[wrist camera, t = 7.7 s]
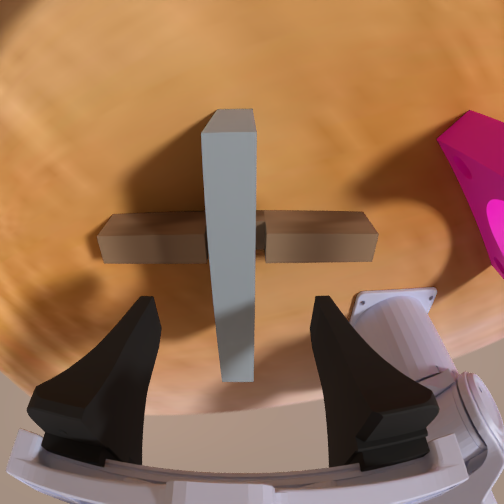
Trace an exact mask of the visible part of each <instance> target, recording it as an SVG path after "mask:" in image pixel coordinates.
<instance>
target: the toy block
mask: <svg viewBox="0 0 504 504" xmlns="http://www.w3.org/2000/svg"><path fill="white" fill-rule="evenodd" d="M437 141H438V143H439V145H440V147H441V148H442V150H443V152H444V154H445V156H446V158H447V160H448V161H449V163H450V165H451V167H452V169H453V171H454V173H455V175H456V177H457V179H458V182H459V184H460V186H461V188H462V190H463V192H464V194H465V197H466V199H467V201H468V203H469V206H470V208H471V210H472V213H473V215H474V218H475V220H476V223H477V225H478V228H479V230H480V233H481V236H482V238H483V241H484V244H485V247H486V249H487V252H488V255H489V258H490V261H491V264H492V266H493V267H494V268H495V269H496V271H497V272H498V273H499V274H500V275H501V276H502V278H503V279H504V123H503V122H501V121H498V120H496V119H493V118H491V117H488V116H485V115H482V114H480V113H477V112H474V111H471V110H469V111H468V112H467V113H465V114H464V115H463V116H462V117H461V118H460V119H459V120H458V121H456V122H455V123H454V124H453V125H452V126H451V127H450V128H448V129H447V130H446V131H445V132H444V133H443V134H442V135H440V136H439V137H438V138H437Z"/></svg>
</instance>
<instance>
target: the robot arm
mask: <svg viewBox="0 0 504 504" xmlns="http://www.w3.org/2000/svg"><path fill="white" fill-rule="evenodd" d="M436 294H437V290H436V288H435V287H427V288H412V289H395V290H377V291H362V292H360V293H358V295H357V297H356V301H355V304H354V308H353V311H352V315H351V318H350V322H348V320H347V319H346V318H345V316H344V315H343V314H342V312H341V311H340V310H339V308H338V307H337V306H336V304H335V303H334V301H333V300H332V299H331V297H330V296H316V297H315V303H314V308H313V314H312V319H311V325H310V333H311V342H312V349H313V353H314V357H315V361H316V365H317V369H318V373H319V377H320V381H321V385H322V390H323V395H324V403H325V411H326V422H327V434H328V451H329V468H322V469H315V470H304V471H292V472H275V473H211V472H194V471H182V470H173V469H163V468H156V467H149V466H142V439H143V423H144V413H145V404H146V397H147V391H148V386H149V383H150V379H151V375H152V371H153V368H154V364H155V360H156V356H157V353H158V349H159V343H160V336H161V329H162V328H161V324H160V320H159V317H158V313H157V309H156V305H155V301H154V297H153V296H141V297H140V298H139V299H138V300H137V301H136V302H135V303H134V305H133V306H132V307H131V308H130V309H129V311H128V312H127V313H126V314H125V315H124V317H123V318H122V319H121V320H120V321H119V322H118V324H117V325H116V326H115V327H114V328H113V329H112V330H111V331H110V333H109V334H108V335H107V336H106V337H105V338H104V339H103V340H102V341H101V342H100V343H99V344H98V345H97V346H96V347H95V348H94V349H92V350H91V351H90V352H89V353H88V354H87V355H86V356H84V357H83V358H82V359H80V360H79V361H78V362H76V363H75V364H74V365H72V366H71V367H70V368H68V369H67V370H65V371H64V372H62V373H60V374H59V375H57V376H55V377H54V378H52V379H50V380H48V381H46V382H44V383H42V384H40V385H38V386H36V388H35V390H34V392H33V395H32V397H31V400H30V402H29V405H28V407H27V413H28V415H29V416H30V417H31V419H32V420H33V421H34V422H35V423H36V424H37V425H38V426H39V427H41V428H42V429H43V430H44V431H45V435H44V438H43V437H42V436H40V435H38V434H36V433H33V432H30V431H27V430H25V429H22V428H20V429H19V431H18V434H17V437H16V439H15V443H14V446H13V448H12V452H11V455H10V458H9V461H8V465H7V468H6V472H7V473H9V474H10V475H11V476H13V477H15V478H16V479H18V480H19V481H21V482H23V483H24V484H26V485H28V486H30V487H31V488H33V489H35V490H37V491H39V492H42V493H44V494H47V495H49V496H52V497H54V498H57V499H59V500H62V501H65V502H67V503H70V504H497V502H496V500H495V497H494V495H493V493H492V490H491V488H492V486H493V485H494V484H495V482H496V481H497V479H498V477H499V476H500V474H501V472H502V471H503V469H504V426H503V421H502V418H501V415H500V413H499V410H498V408H497V406H496V403H495V402H494V399H493V398H492V396H491V394H490V392H489V390H488V389H487V387H486V386H485V384H484V383H483V382H482V380H481V379H480V378H479V377H478V376H477V375H476V374H474V373H469V372H466V371H465V372H463V373H462V374H461V375H459V374H458V371H457V369H456V367H455V366H454V363H453V361H452V359H451V357H450V355H449V353H448V351H447V349H446V347H445V345H444V343H443V342H442V340H441V338H440V336H439V334H438V332H437V330H436V328H435V327H434V325H433V323H432V321H431V319H430V318H429V316H428V312H429V310H430V308H431V306H432V303H433V301H434V299H435V297H436ZM361 301H362V302H361Z"/></svg>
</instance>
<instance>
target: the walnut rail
mask: <svg viewBox="0 0 504 504" xmlns="http://www.w3.org/2000/svg"><path fill="white" fill-rule="evenodd" d="M378 235H379V234H378V232H377V231H376V230H375V228H374V227H373V225H372V224H371V222H370V221H369V219H368V218H367V217H366V215H365V214H364V212H349V211H284V210H256V243H255V249H264V250H265V260H266V263H316V262H372V260H373V256H374V252H375V248H376V243H377V239H378ZM97 239H98V243H99V247H100V251H101V254H102V258H103V261H104V263H113V264H201V263H207V259H208V253H209V251H208V238H207V225H206V212H205V211H185V212H153V213H128V214H113V215H112V216H111V218H110V219H109V220H108V222H107V223H106V224H105V226H104V227H103V228H102V230H101V231H100V233H99V234H98V235H97Z"/></svg>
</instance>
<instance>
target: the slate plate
mask: <svg viewBox="0 0 504 504" xmlns="http://www.w3.org/2000/svg"><path fill="white" fill-rule="evenodd" d="M201 144H202V164H203V181H204V197H205V212H206V225H207V238H208V251H209V262H210V274H211V284H212V295H213V305H214V315H215V324H216V333H217V342H218V351H219V359H220V368H221V376H222V382H254V319H255V243H256V150H257V131H256V126H255V120H254V115H253V109H217V111H216V112H215V113H214V115H213V116H212V118H211V119H210V121H209V122H208V124H207V125H206V127H205V128H204V129H203V131H202V132H201Z"/></svg>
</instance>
